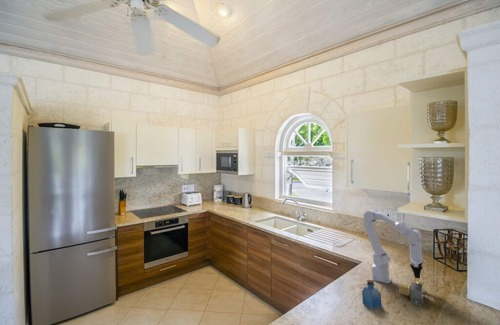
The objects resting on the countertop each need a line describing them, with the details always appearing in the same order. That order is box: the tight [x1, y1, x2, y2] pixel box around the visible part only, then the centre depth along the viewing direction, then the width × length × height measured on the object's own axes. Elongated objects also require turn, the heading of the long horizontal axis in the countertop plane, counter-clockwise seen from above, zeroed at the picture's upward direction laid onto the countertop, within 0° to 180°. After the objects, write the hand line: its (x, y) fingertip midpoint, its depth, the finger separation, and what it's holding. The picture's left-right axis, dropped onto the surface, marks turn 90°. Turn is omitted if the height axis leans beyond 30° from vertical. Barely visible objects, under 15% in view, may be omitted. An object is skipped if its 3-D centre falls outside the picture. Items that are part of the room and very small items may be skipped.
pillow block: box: [410, 281, 424, 307], centre depth 127 cm, size 5×16×6 cm, turn 142°
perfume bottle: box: [361, 279, 382, 310], centre depth 124 cm, size 6×6×12 cm
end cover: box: [398, 283, 411, 297], centre depth 129 cm, size 9×5×5 cm, turn 52°
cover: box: [414, 280, 426, 294], centre depth 135 cm, size 5×5×4 cm
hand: (417, 275), depth 135 cm, fingers open, 7 cm apart
